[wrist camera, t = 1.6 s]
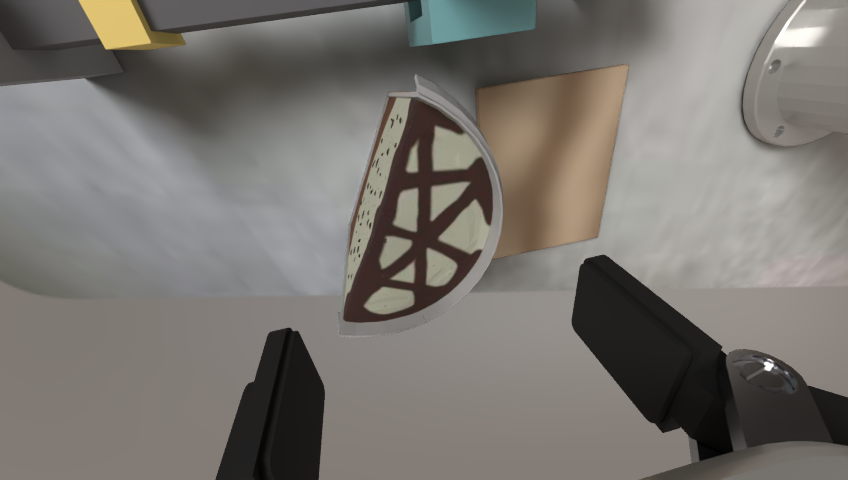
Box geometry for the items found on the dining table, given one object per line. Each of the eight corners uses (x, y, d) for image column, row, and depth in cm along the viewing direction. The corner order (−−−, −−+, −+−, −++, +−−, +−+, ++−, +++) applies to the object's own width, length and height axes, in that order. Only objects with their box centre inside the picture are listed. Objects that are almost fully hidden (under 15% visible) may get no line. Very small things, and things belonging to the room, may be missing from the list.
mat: (622, 64, 21) (628, 64, 21) (592, 233, 28) (597, 237, 27) (475, 88, 20) (478, 89, 20) (481, 256, 27) (484, 260, 26)
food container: (419, 258, 26) (448, 358, 18) (343, 241, 24) (335, 344, 16) (485, 103, 21) (571, 139, 12) (395, 66, 19) (424, 77, 10)
